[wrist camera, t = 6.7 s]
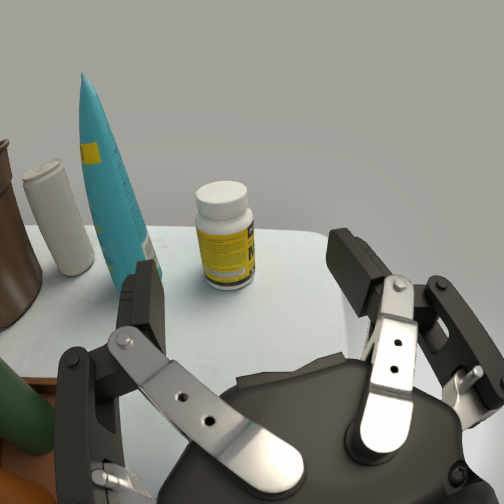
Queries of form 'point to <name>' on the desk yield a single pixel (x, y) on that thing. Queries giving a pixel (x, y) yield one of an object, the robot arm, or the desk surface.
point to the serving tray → (23, 462)
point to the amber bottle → (22, 490)
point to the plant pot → (14, 252)
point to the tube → (110, 192)
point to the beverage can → (58, 217)
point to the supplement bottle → (225, 234)
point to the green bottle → (24, 414)
